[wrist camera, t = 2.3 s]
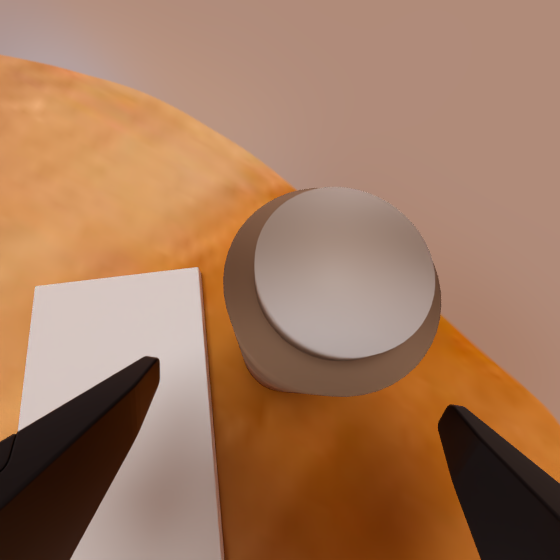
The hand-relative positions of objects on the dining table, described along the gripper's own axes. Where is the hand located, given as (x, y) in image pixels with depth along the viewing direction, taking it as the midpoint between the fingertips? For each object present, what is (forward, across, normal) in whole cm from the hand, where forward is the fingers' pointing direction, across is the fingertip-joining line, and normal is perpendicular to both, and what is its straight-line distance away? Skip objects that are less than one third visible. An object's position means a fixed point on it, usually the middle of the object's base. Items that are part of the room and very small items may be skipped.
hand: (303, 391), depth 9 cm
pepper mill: (+9, 0, +5) cm, 11 cm away
